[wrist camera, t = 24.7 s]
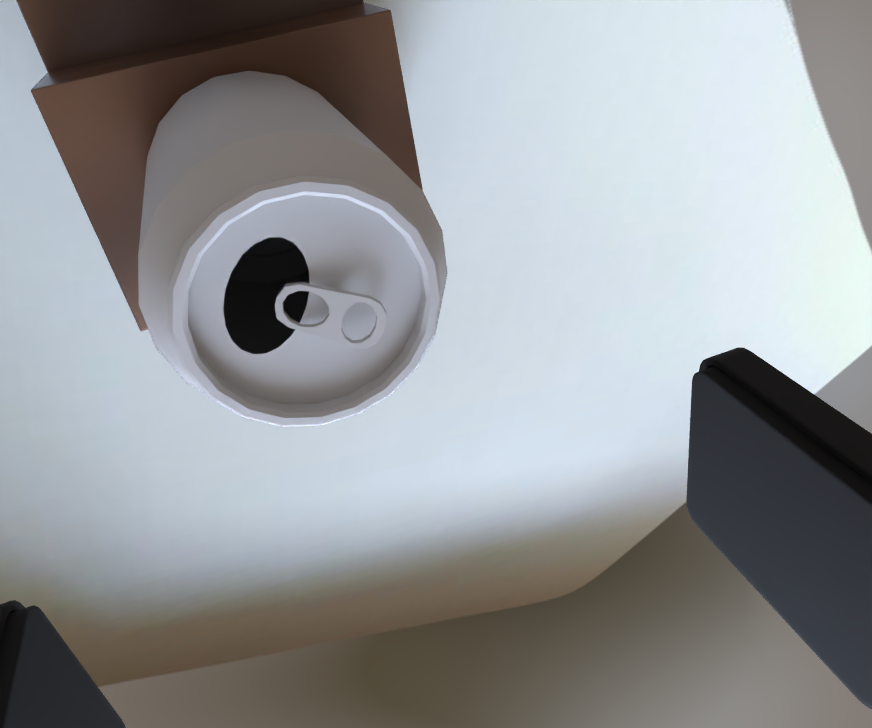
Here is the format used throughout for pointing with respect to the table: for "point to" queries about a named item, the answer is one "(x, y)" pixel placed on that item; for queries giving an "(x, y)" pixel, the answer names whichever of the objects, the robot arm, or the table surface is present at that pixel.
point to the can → (284, 254)
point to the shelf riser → (188, 68)
